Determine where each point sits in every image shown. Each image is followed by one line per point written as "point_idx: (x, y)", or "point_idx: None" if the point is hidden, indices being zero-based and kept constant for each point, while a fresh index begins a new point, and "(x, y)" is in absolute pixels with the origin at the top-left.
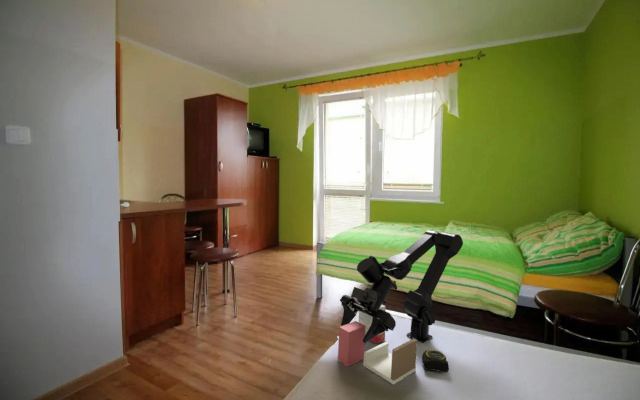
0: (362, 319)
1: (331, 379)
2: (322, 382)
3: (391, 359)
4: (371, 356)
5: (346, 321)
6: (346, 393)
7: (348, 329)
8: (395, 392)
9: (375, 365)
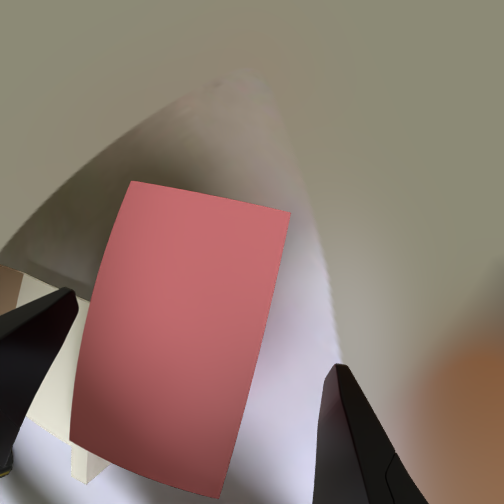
0: None
1: (208, 149)
2: (226, 120)
3: (60, 412)
4: None
5: (334, 459)
6: (132, 131)
7: (162, 230)
8: (17, 239)
9: (83, 327)
